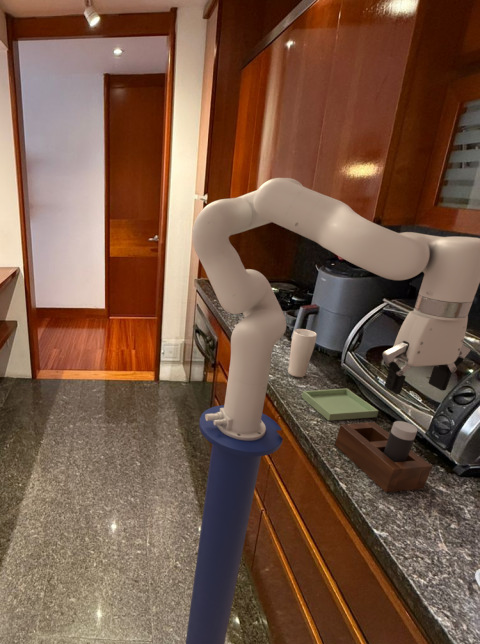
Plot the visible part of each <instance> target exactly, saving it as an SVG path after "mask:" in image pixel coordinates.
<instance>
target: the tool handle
mask: <svg viewBox="0 0 480 644" xmlns="http://www.w3.org/2000/svg"><path fill="white" fill-rule="evenodd" d="M418 430H419V429H418V428H417V427H416V426H415V425H413V424H412V423H409V422H407V421H403V420H395V421H394V422H393V423H392V427H391V429H390V433H389V434H390V435H389V438H388V441H387V444H386V447H385V450H384V454H385V455H386V456H387V457H389V458H390V459H391V460H392V461H393V462H405V461H406V460H407V457H408V455H409V452H410V450H412V447H413V444H414V441H415V439H416V436H417V433H418Z"/></svg>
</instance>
